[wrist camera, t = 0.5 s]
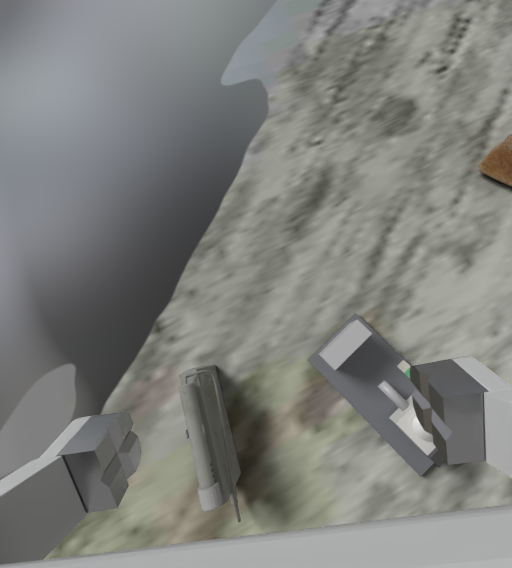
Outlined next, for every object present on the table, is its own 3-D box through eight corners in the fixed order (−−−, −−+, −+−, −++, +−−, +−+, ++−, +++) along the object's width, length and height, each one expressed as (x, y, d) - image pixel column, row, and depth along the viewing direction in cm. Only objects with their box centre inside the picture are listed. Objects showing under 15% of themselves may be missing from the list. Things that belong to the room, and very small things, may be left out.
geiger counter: (163, 376, 47) (202, 565, 42) (203, 364, 47) (247, 555, 41) (194, 369, 61) (227, 511, 55) (226, 360, 60) (261, 503, 55)
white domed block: (463, 416, 51) (481, 424, 46) (425, 455, 51) (439, 467, 46) (401, 358, 54) (411, 359, 49) (365, 394, 54) (372, 399, 49)
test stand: (468, 421, 53) (503, 437, 43) (417, 472, 52) (441, 500, 43) (354, 313, 58) (364, 308, 49) (308, 359, 58) (309, 362, 49)
